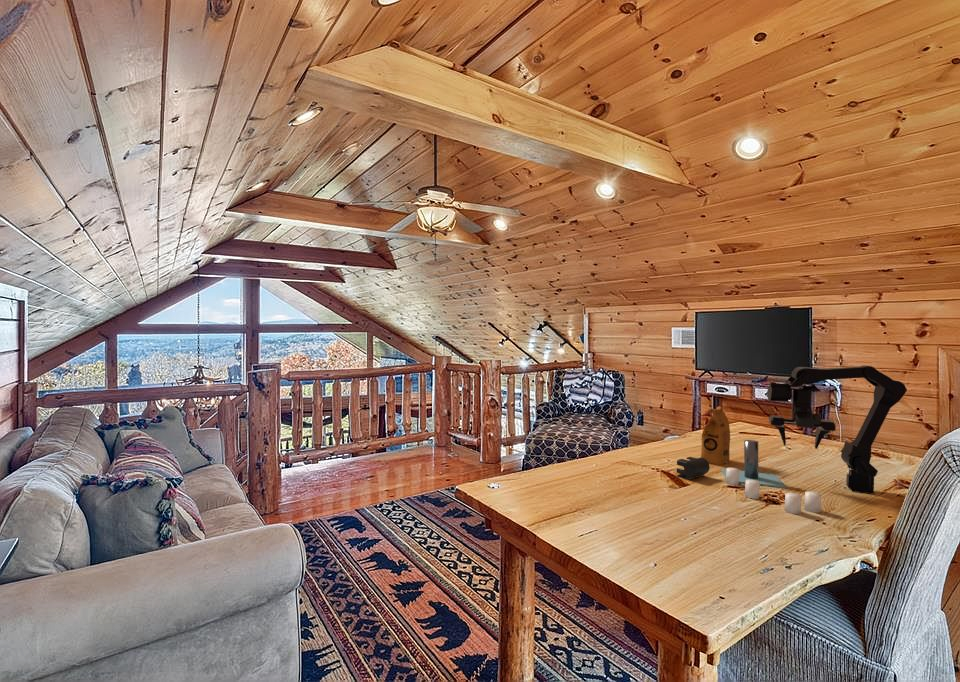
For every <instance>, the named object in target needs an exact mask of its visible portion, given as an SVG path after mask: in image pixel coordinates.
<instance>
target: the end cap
mask: <svg viewBox="0 0 960 682" xmlns="http://www.w3.org/2000/svg"><path fill="white" fill-rule="evenodd" d="M676 466H678V467H679V466H680V467H683V469H681V468H676V473H677V474H676V476H677V478H681V479H684V480H693V479H695V478H699V477H702V476H704V475H706V474H708V473H709V471H710V468H711V467H710V463H708V461H707V460H706V459H704V458H702V457H701V456H700V457H698V458H697V457H693V456H687V457H686V459H685V458H679V459H677V460H676Z"/></svg>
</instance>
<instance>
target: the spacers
mask: <svg viewBox="0 0 960 682" xmlns="http://www.w3.org/2000/svg"><path fill="white" fill-rule="evenodd" d="M725 469H726V478H725V483H726V484H728V485H731V486H739V485H740V483H739V471H740V469H739V468H737V467H726V468H725ZM744 485H745V486H744V497H745V498H747V497H748V499H751V498H752V499H753V500H759V499H760V492H761V491H760V487H761V485H760V482H759V481H756V480H749V479H748V480H746V481H745V484H744ZM804 493H805V494H804V507H803V508H804V510H805V511H807V512H810V513H816V514H820V513H821V512H822V494H821V493H819V492H816V491H809V490H808V491H805V492H804ZM784 497H785V498H784V511H785V512H786V513H788V514H791V515H800V514H801V513H802V498H803V496H802V495H801V494H798V493H795V492H785V494H784Z"/></svg>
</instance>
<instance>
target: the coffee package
mask: <svg viewBox="0 0 960 682" xmlns="http://www.w3.org/2000/svg"><path fill="white" fill-rule="evenodd" d="M708 412H709V413H711V414H712V415H711V417H710V418H709V422H708V423H706V424H705V427H704V428H703V430H702V434H701V447H700V448H701V451H700V452H701V454H700V458H701V457H702V458H704V459H706V460H707V461H708V463H709V464H712V465H716V466H723V465H724V464H728V463H729V461H730V454H731V453H730V444H731V430H730V428H731V427H730V421H729V419H728V417H727V415H726V413H725V412H724V409H723V407H722V406H720V405H719V406H717V407H716V408H711V409H710V410H709V411H708Z"/></svg>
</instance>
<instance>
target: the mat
mask: <svg viewBox="0 0 960 682" xmlns="http://www.w3.org/2000/svg"><path fill="white" fill-rule="evenodd" d="M720 472H721V473H722V474H723V476H724V478H725V479H726V468H721V469H720ZM748 479H749V480H756V481H759V482H760V486H761V485H763V487H771V486H772V487H771V488H779V489H780V488H781V489H787V488H788V487H787V485H786V484H785V483H784V481H782V480H781V479H780V478H779V477H778V476H777V475H776V474H775V473H765V472H758V479H750V478H746V477H745V476H744V470H739V484H744V485H745V481H746V480H748Z"/></svg>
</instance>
